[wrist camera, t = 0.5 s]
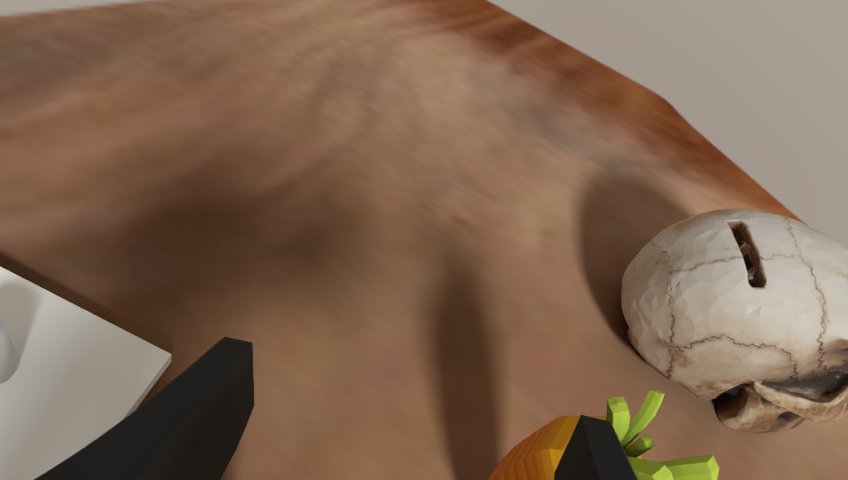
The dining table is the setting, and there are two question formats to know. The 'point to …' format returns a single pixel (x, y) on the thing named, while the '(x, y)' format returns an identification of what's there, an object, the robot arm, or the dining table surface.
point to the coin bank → (745, 316)
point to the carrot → (541, 452)
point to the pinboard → (63, 377)
